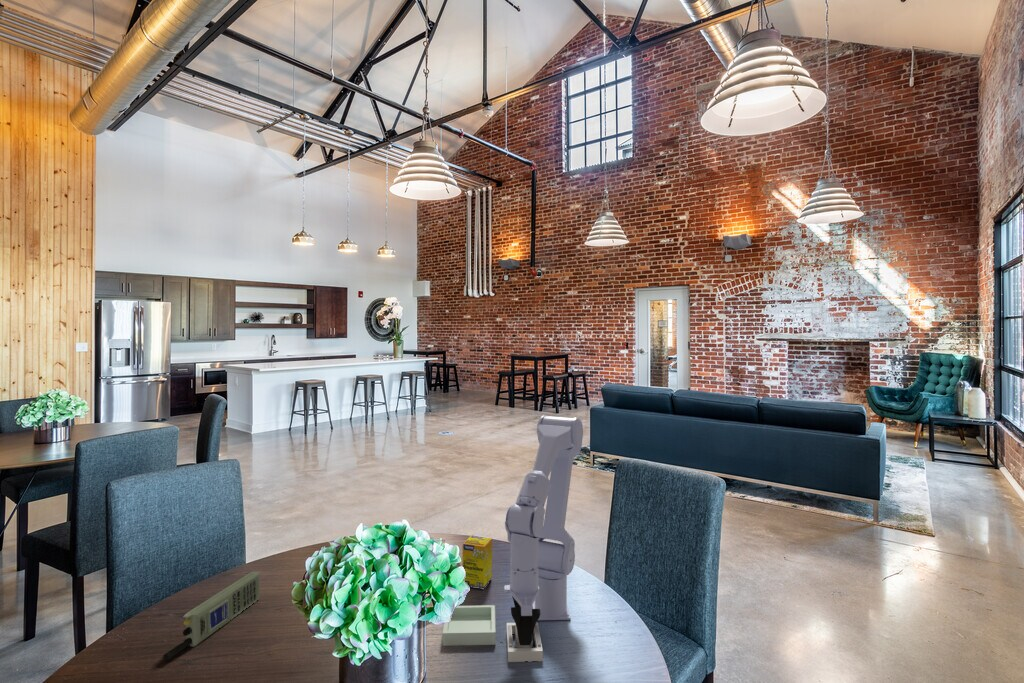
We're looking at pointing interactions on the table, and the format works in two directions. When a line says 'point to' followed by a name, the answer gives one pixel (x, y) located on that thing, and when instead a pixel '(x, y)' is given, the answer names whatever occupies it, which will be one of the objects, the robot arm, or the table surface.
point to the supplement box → (477, 561)
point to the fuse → (517, 644)
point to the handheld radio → (218, 611)
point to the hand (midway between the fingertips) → (523, 633)
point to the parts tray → (470, 626)
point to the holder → (524, 653)
